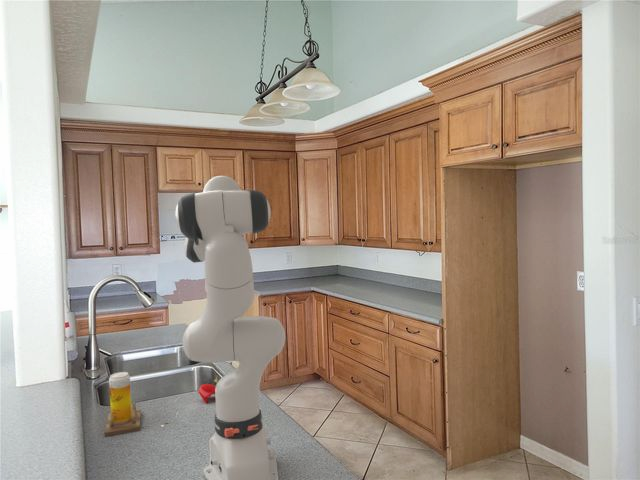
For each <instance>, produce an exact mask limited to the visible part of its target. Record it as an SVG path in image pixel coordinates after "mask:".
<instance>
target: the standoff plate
mask: <svg viewBox="0 0 640 480" xmlns="http://www.w3.org/2000/svg"><path fill="white" fill-rule="evenodd" d="M131 407H132V410H131V416H132V418H131V419H130V421H129V422H127V423H124V424H114V419H113V413H111V412H110V413H109V414H108V415H107V419H106V423H105V428H104V437H110V436H116V435H122V434H127V433H134V432H138V431H141V421H142V420H141V419H142V418H141V416H142V412H141V411H142V410H141V409H137V402H131Z"/></svg>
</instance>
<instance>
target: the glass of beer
mask: <svg viewBox="0 0 640 480" xmlns="http://www.w3.org/2000/svg"><path fill="white" fill-rule="evenodd" d="M108 385H109V387H108V388H109V401H110V404H109V405H110V413H113V419H114V424H124V423H127V422H129V421H130V419H131V418H132V416H131V410H132V394H131V393H132V392H131V391H132V390H131V377H130V375H129V372H127V371H119V372H114V373H112V374H110V377H109V379H108Z"/></svg>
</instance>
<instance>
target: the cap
mask: <svg viewBox="0 0 640 480" xmlns="http://www.w3.org/2000/svg"><path fill="white" fill-rule="evenodd" d="M215 388H216V385H214V384H210V383H205V384H202V385H200V387H199V389H198V391H197V392H198V394H199V396H200V397H201V398H202V400H203V401H204V402H205V404H208V403H209V401H208V398H210V397H211V396H213V395H215Z"/></svg>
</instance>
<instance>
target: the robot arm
mask: <svg viewBox="0 0 640 480" xmlns="http://www.w3.org/2000/svg"><path fill="white" fill-rule="evenodd" d="M177 200H178V201H177V203H176V204H177V205H176V207H175V221H176V224H177V226H178V228H179V229H180V232H181V234H182V235H183V236H184V237H185V239H184V243H183V249H184V250H183V251H184V254H185V256H186V259H188V260H189V261H191V262H192V263H195V264H196V263H203V262H204V275H205V278H204V279H205V281H204V282H205V283H204V290H205V293H206V305H205V308H204V310H203V312H202V313H201V314H200V316H199V317H198V318H197V319H195V320H194V321H192V322H190V323H189V325H188V326H187V327H186V329H185V331H184V332H183V335H182V343H181V344H182V349H183V352H184V353H185V355H186V357H187V358H188V359H189V360H190V361H193V362H199V363H208V364H211V363H224V362H225V363H228V362H238V363H239V364H238V366H237V367H236V368H235V369H233V370H232V371H230V372H228V373H227V374H226V375H224V376H222V377H221V378H220V379H219V380H218V382H217V383H216V385H215V387H216V388H215V394H214V397H215V414H214V421H213V422H214V424H213V425H214V430H215V431H214V434H213V435H212V436H211V438H209V465H207V466H206V467H204V468H203V469H202V475H203V476H204V477H205V479H206V480H279V472H278V464H277V462H278V461H277V456H276V454H275V449H274V448H272V449H268V445H271V443H272V442H271V438H270V437H268V436H267V428H266V427H264V426H263V415H262V410H261V409H260V387H261V379H262V376H263V373H264V372H265V370H266V368H267V367H268V365H269V363H271V362H272V360H273V359H274V358H275V357H277V356H278V355H280V353H281V351H282V350H283V349H284V346H285V343H286V331H285V328H284V326H283V324H282V322H281V321H280V320H279V319H278V318H277V317H270V316H263V315H254V316H253V315H251V316H250V315H249V316H243V315H244V314H246V313H248V311H249V310H250V308H251V307H252V305H253V303H254V301H255V284H254V283H255V282H254V272H253V271H254V270H253V262H252V258H251V257H252V256H251V253H250V248H249V244H248V242H247V240H246V238H245V236H244V235H247V234H253V235H254V234H257V233H261V232H264V231H266V229H267V228H268V226H269V222H270V221H271V220H270V219H271V216H272V215H271V214H272V213H271V211H272V210H271V206H270V202H269V200H268V198H267V196H266V195H265V193H264V192H261V191H259V190H255V189H247V190H245V189H241V187H240V185H239V183H238V182H237V181H236V180H234V178H232V177H230V176H227V175H217V176H213V177H212V178H211V179H209V180H207V182H206V183H205V184H204V187H203V191H202V192H198V193H197V192H196V193H195V192H189V193H186V194H184V195H182V196H180V197H179V199H177Z"/></svg>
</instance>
